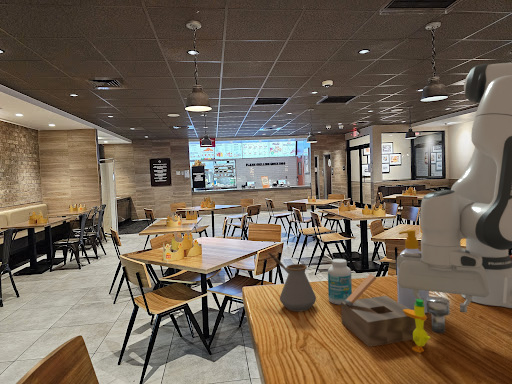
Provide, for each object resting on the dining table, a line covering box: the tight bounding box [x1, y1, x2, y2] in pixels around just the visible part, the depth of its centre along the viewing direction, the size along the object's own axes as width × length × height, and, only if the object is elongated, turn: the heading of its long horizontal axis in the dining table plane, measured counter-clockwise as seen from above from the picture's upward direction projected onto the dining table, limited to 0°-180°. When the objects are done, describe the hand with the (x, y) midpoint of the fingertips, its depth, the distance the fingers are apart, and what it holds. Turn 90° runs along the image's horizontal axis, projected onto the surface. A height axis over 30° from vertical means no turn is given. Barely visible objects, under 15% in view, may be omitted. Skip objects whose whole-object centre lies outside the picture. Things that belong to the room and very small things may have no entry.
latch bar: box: [344, 273, 377, 307], centre depth 93 cm, size 11×3×1 cm
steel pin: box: [426, 296, 451, 334], centre depth 88 cm, size 5×5×8 cm
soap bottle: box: [396, 229, 430, 314], centre depth 102 cm, size 9×9×24 cm
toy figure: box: [403, 299, 431, 354], centre depth 79 cm, size 7×4×12 cm, turn 32°
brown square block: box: [340, 295, 416, 347], centre depth 90 cm, size 14×14×6 cm
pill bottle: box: [327, 258, 353, 306], centre depth 111 cm, size 8×7×14 cm
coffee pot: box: [266, 252, 317, 312], centre depth 113 cm, size 21×12×15 cm, turn 32°
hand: (441, 308), depth 87 cm, fingers open, 8 cm apart
